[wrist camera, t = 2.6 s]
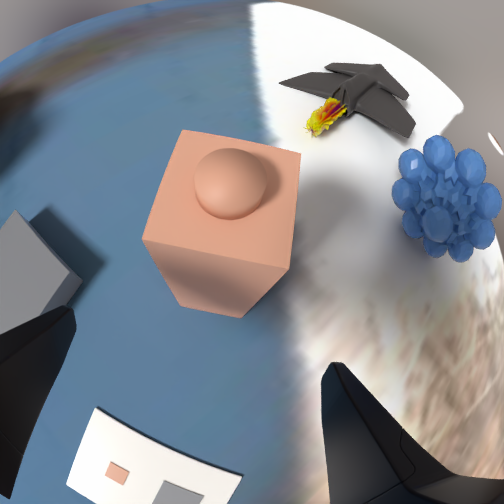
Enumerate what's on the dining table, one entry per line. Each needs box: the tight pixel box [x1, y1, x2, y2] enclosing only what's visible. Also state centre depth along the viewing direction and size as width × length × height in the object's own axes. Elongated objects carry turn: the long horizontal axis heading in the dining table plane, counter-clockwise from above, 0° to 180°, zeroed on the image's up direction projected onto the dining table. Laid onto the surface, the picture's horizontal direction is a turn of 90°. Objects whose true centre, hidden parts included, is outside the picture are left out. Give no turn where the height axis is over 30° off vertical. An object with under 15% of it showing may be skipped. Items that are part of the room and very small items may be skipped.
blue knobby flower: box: [392, 135, 502, 262], centre depth 20 cm, size 12×7×12 cm, turn 47°
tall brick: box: [142, 130, 301, 318], centre depth 15 cm, size 4×4×14 cm
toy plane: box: [279, 63, 416, 138], centre depth 30 cm, size 25×17×5 cm
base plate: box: [0, 210, 83, 334], centre depth 17 cm, size 9×9×3 cm
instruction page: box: [67, 408, 242, 504], centre depth 15 cm, size 12×9×1 cm
